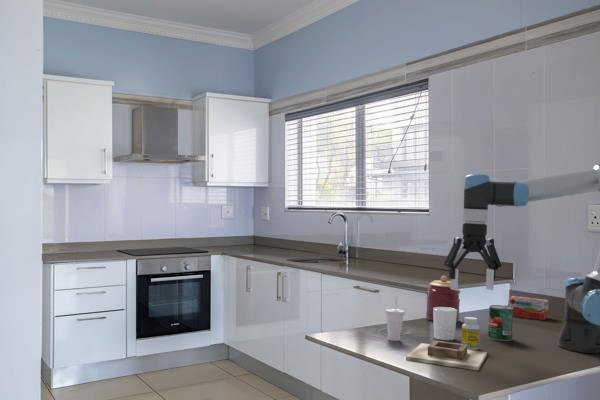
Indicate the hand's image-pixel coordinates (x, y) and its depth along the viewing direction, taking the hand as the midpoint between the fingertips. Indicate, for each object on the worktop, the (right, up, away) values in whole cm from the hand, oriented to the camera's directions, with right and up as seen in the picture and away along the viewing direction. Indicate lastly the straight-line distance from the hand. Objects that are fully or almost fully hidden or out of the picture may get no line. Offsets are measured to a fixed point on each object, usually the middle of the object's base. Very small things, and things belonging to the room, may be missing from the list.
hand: (471, 289), depth 191 cm
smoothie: (-24, -18, +7) cm, 31 cm away
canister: (+2, -19, +48) cm, 51 cm away
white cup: (-6, -19, +13) cm, 23 cm away
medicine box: (+43, -22, +66) cm, 81 cm away
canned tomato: (+14, -20, +17) cm, 30 cm away
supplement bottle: (-1, -19, 0) cm, 19 cm away
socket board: (-11, -18, -14) cm, 26 cm away
